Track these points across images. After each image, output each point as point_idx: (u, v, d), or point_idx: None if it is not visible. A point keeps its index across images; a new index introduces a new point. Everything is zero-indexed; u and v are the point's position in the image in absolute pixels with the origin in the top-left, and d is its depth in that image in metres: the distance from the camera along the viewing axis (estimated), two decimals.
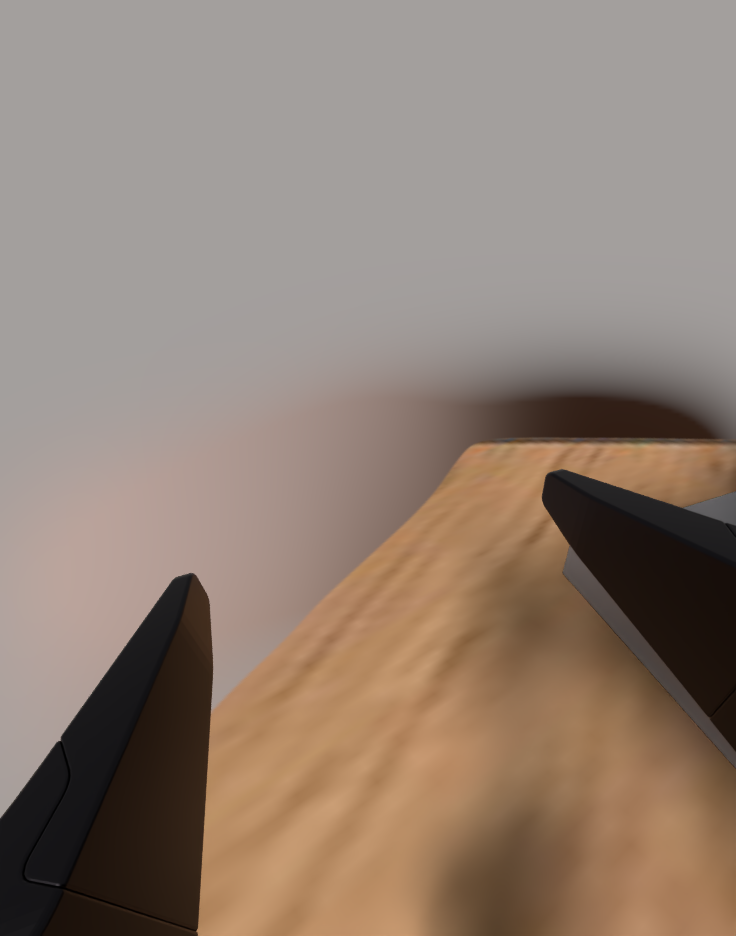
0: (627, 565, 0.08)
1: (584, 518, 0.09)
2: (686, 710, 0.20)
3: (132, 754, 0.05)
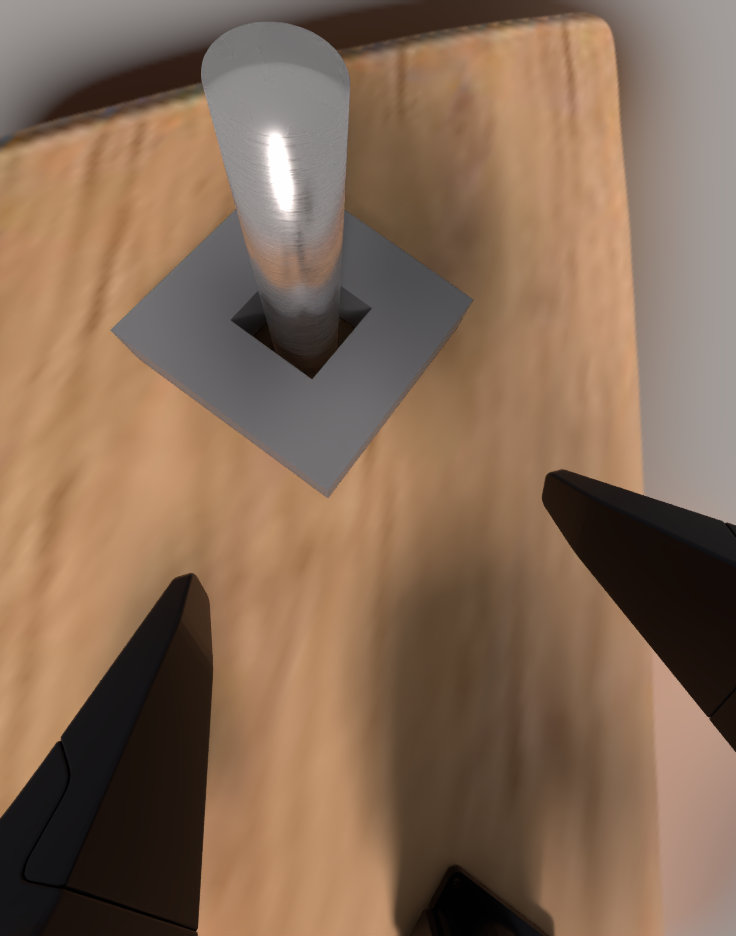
0: (627, 565, 0.08)
1: (584, 518, 0.09)
2: (264, 450, 0.22)
3: (132, 754, 0.05)
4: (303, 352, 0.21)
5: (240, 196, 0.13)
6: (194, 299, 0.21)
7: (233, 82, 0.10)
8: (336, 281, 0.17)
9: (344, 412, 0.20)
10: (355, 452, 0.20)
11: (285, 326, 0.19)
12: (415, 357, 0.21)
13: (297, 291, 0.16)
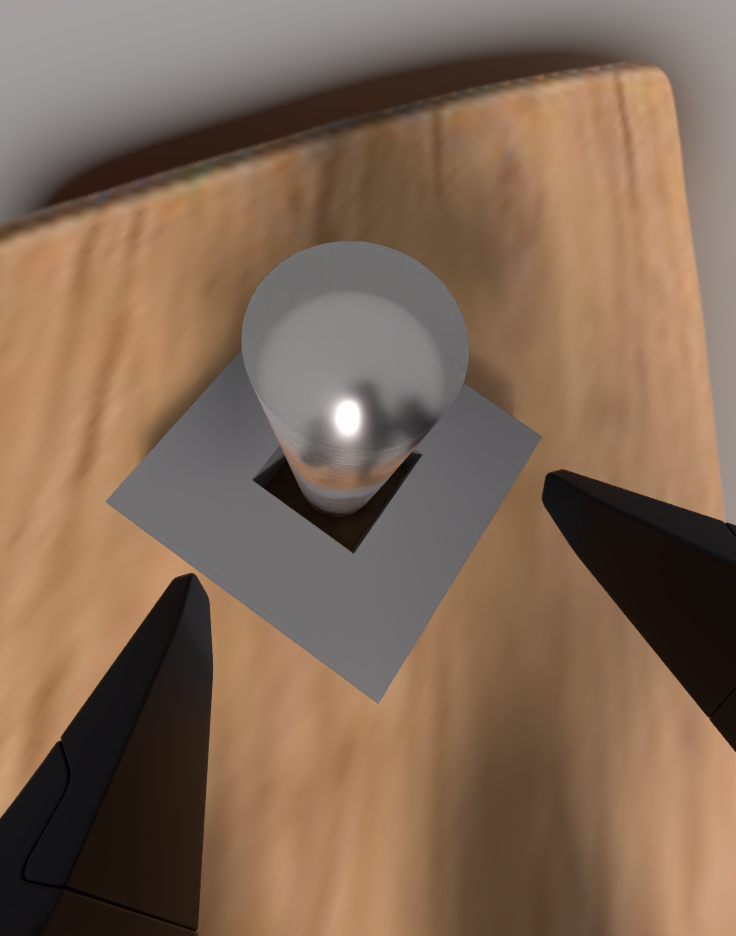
0: (627, 565, 0.08)
1: (584, 518, 0.09)
2: None
3: (132, 754, 0.05)
4: (341, 512, 0.18)
5: (287, 449, 0.09)
6: (208, 454, 0.17)
7: (292, 356, 0.07)
8: None
9: (394, 595, 0.17)
10: (409, 649, 0.16)
11: (324, 504, 0.15)
12: (476, 517, 0.18)
13: (348, 497, 0.13)
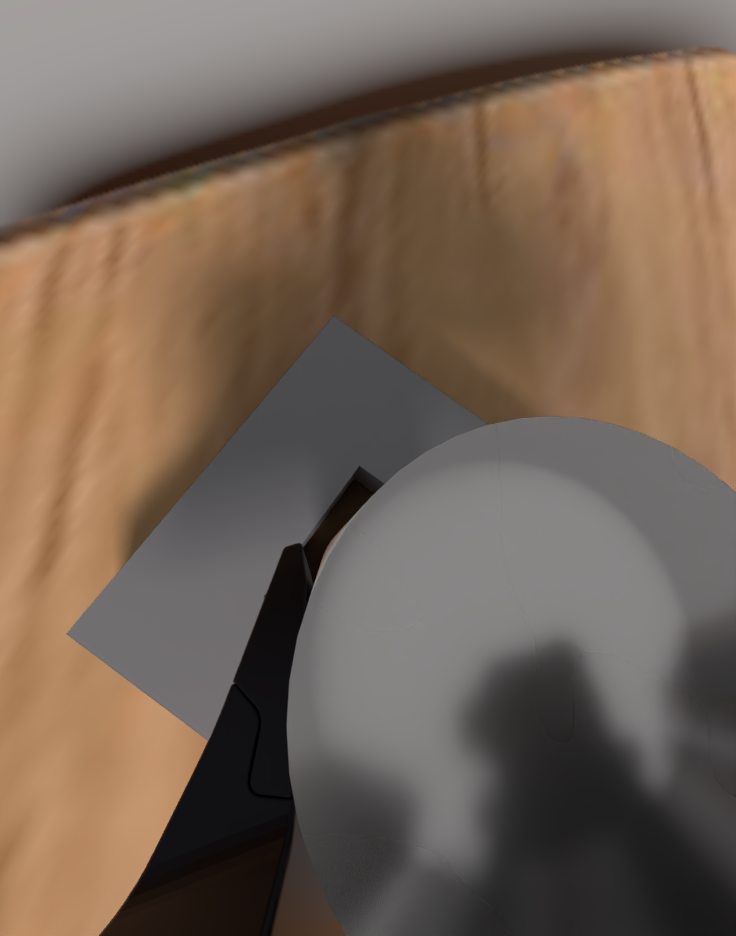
0: None
1: None
2: None
3: None
4: None
5: None
6: (204, 563, 0.13)
7: (424, 773, 0.02)
8: None
9: None
10: None
11: None
12: None
13: None
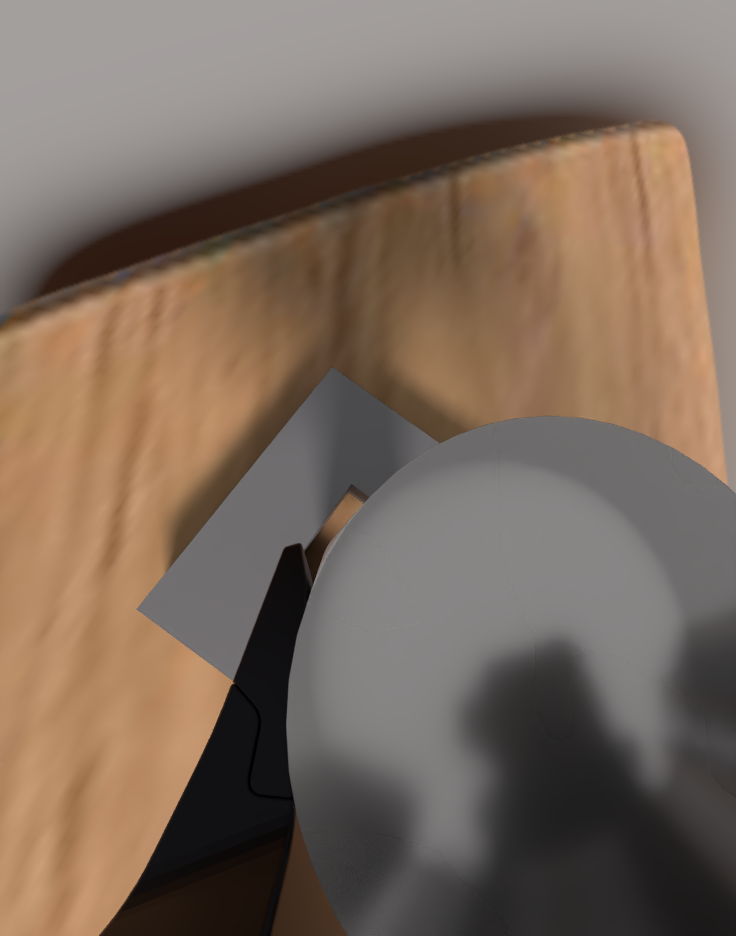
0: None
1: None
2: None
3: None
4: None
5: None
6: (236, 557, 0.17)
7: (423, 771, 0.02)
8: None
9: None
10: None
11: None
12: None
13: None
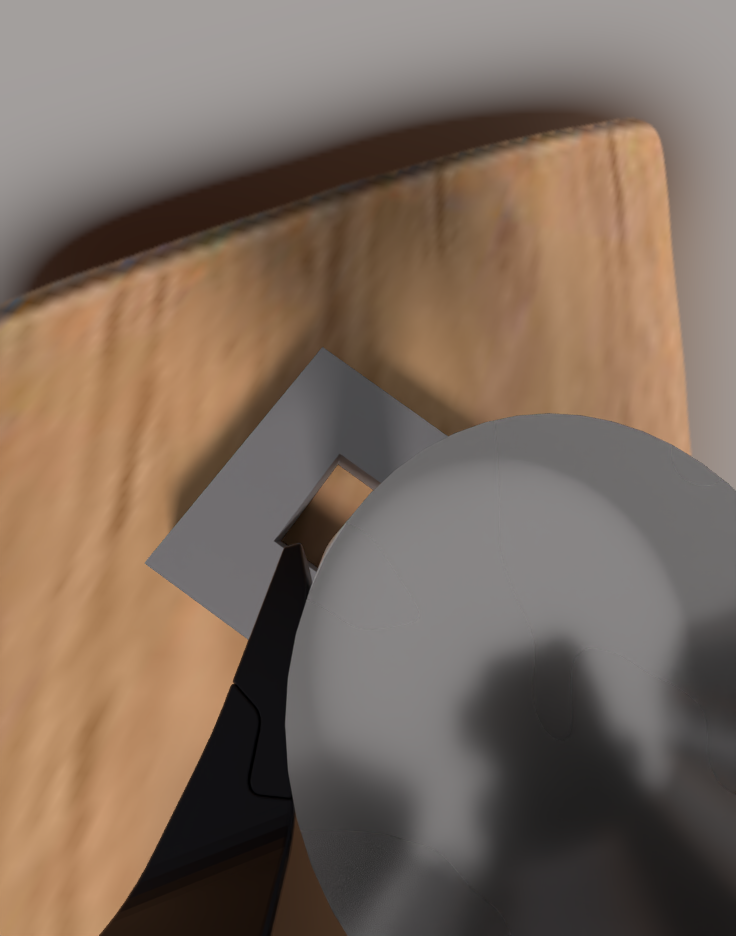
0: None
1: None
2: None
3: None
4: None
5: None
6: (234, 518, 0.19)
7: (423, 769, 0.02)
8: None
9: None
10: None
11: None
12: None
13: None
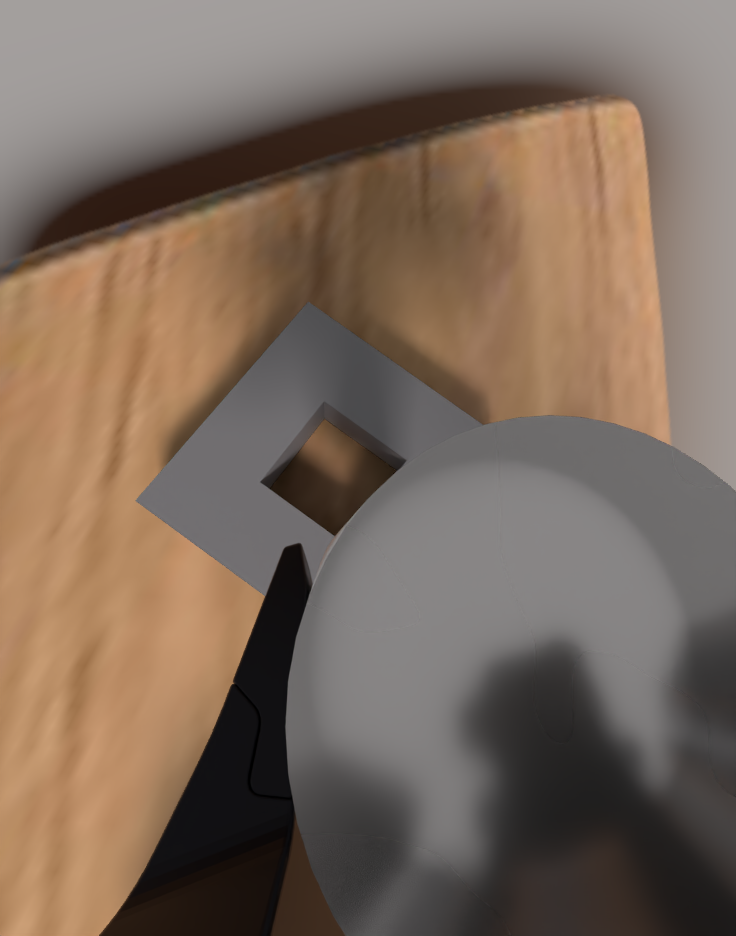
0: None
1: None
2: None
3: None
4: None
5: None
6: (222, 460, 0.20)
7: (423, 772, 0.02)
8: None
9: None
10: None
11: None
12: None
13: None
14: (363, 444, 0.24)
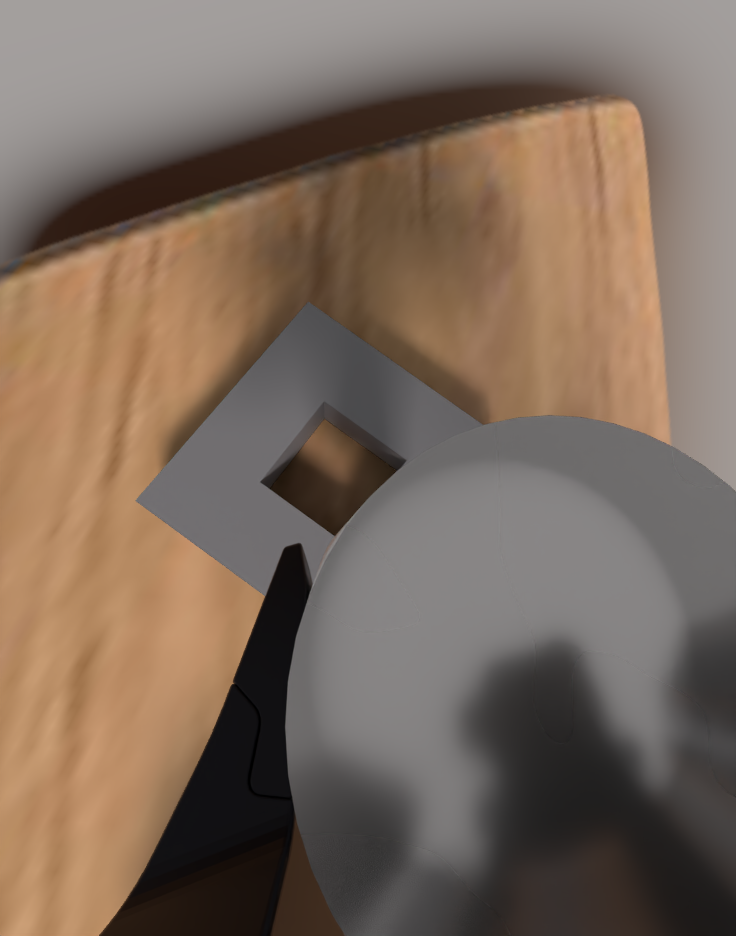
0: None
1: None
2: None
3: None
4: None
5: None
6: (222, 460, 0.20)
7: (423, 772, 0.02)
8: None
9: None
10: None
11: None
12: None
13: None
14: (363, 444, 0.24)
